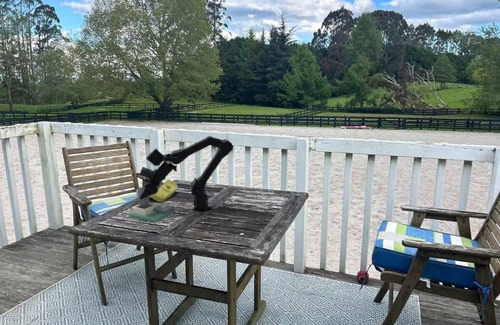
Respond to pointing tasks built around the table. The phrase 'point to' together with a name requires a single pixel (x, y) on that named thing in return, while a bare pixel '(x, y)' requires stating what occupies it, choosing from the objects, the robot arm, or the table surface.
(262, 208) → the table surface
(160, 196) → the plastic component
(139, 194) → the plug
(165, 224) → the table surface
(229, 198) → the table surface
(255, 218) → the table surface
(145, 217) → the header board
